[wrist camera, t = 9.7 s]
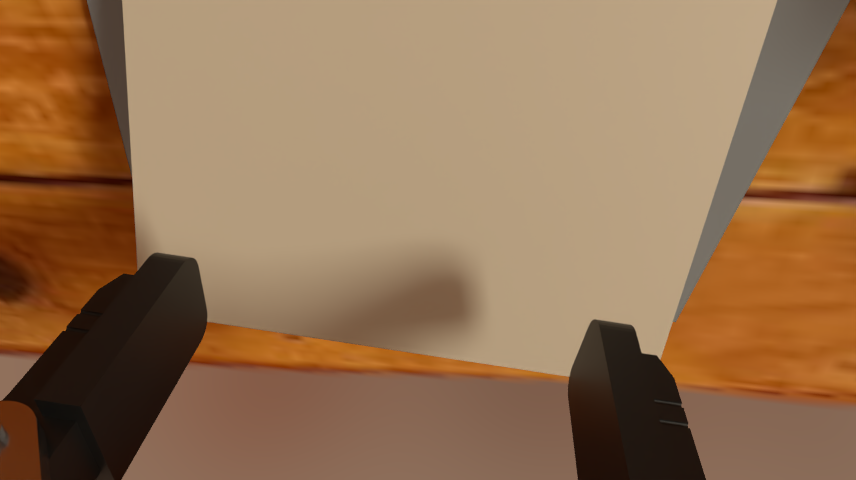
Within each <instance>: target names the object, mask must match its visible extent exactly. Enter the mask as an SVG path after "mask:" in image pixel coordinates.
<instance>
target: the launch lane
mask: <svg viewBox="0 0 856 480" xmlns="http://www.w3.org/2000/svg"><path fill="white" fill-rule="evenodd" d="M849 1H850V0H87V3H88V7H89V11H90V15H91V19H92V23H93V27H94V31H95V34H96V38H97V42H98V46H99V50H100V54H101V58H102V62H103V66H104V70H105V73H106V77H107V81H108V85H109V89H110V93H111V97H112V101H113V105H114V109H115V112H116V116H117V120H118V124H119V128H120V132H121V136H122V140H123V144H124V148H125V151H126V155H127V159H128V163H129V167H130V171H131V175H132V180H133V198H134V215H135V233H136V250H137V268H138V270H139V268H140V267H141V266H142V265H143V263H144V262H145V261H146V260H147V259H148V257H149V256H150V255H152V254H153V253H157V252H158V253H165V254H171V255H178V256H185V257H191V258H194V259H196V261H197V263H198V266H199V271H200V276H201V281H202V286H203V291H204V297H205V302H206V307H207V322H213V323H220V324H226V325H233V326H239V327H246V328H252V329H259V330H266V331H272V332H279V333H285V334H292V335H299V336H305V337H312V338H318V339H325V340H332V341H338V342H345V343H351V344H358V345H364V346H371V347H378V348H384V349H391V350H397V351H404V352H411V353H417V354H424V355H430V356H437V357H443V358H450V359H457V360H463V361H470V362H476V363H483V364H490V365H496V366H503V367H509V368H516V369H522V370H529V371H536V372H542V373H549V374H555V375H562V376H569V377H570V372H571V368H572V366H573V363H574V361H575V358H576V356H577V353H578V351H579V349H580V346H581V344H582V341H583V339H584V336H585V334H586V331H587V329H588V326H589V324H590V323H591V321H592V320H594V319H596V320H603V321H610V322H616V323H623V324H630V325H632V326H633V327H634V328H635V331H636V334H637V338H638V341H639V345H640V349H641V352H642V353H644V354H651V355H657V356H658V358H659V359H661V356H662V353H663V350H664V347H665V344H666V341H667V338H668V334H669V331H670V328H671V325H672V322H676V320H677V319H678V317H679V315H680V313H681V311H682V309H683V308H684V306H685V304H686V302H687V300H688V298H689V296H690V295H691V293H692V291H693V289H694V287H695V285H696V284H697V282H698V280H699V278H700V276H701V274H702V272H703V271H704V269H705V267H706V265H707V263H708V261H709V260H710V258H711V256H712V254H713V252H714V250H715V249H716V247H717V245H718V243H719V241H720V239H721V237H722V236H723V234H724V232H725V230H726V228H727V226H728V225H729V223H730V221H731V219H732V217H733V215H734V213H735V212H736V210H737V208H738V206H739V204H740V202H741V201H742V199H743V197H744V195H745V193H746V191H747V189H748V188H749V186H750V184H751V182H752V180H753V178H754V177H755V175H756V173H757V171H758V169H759V167H760V166H761V164H762V162H763V160H764V158H765V156H766V154H767V153H768V151H769V149H770V147H771V145H772V143H773V142H774V140H775V138H776V136H777V134H778V132H779V130H780V129H781V127H782V125H783V123H784V121H785V119H786V118H787V116H788V114H789V112H790V110H791V108H792V107H793V105H794V103H795V101H796V99H797V97H798V95H799V94H800V92H801V90H802V88H803V86H804V84H805V83H806V81H807V79H808V77H809V75H810V73H811V71H812V70H813V68H814V66H815V64H816V62H817V60H818V59H819V57H820V55H821V53H822V51H823V49H824V47H825V46H826V44H827V42H828V40H829V38H830V36H831V35H832V33H833V31H834V29H835V27H836V25H837V24H838V22H839V20H840V18H841V16H842V14H843V12H844V11H845V9H846V7H847V5H848V3H849Z"/></svg>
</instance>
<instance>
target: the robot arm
mask: <svg viewBox="0 0 856 480" xmlns="http://www.w3.org/2000/svg"><path fill="white" fill-rule="evenodd" d="M206 325H207V307H206V302H205V297H204V291H203V286H202V281H201V276H200V271H199V266H198V263H197V261H196V259H194V258H191V257H185V256H178V255H171V254H165V253H158V252H157V253H153V254H152V255H150V256H149V257H148V259H147V260H146V261H145V262H144V263H143V265H142V266H141V267H140V268H139V270H138V271H137V272H136V273H135V275H129V274H122V275H121V276H119V277H118V278H116V279H114V280H113V281H111V282H110V283H108V284H107V285H105V286H103V287H102V288H100V289H99V290H98V291H97V292H96V293H95V294H94V295H93V296H92V298H91V299H90V300H89V301H88V302H87V303H86V305H85V306H84V307H83V308H82V309H81V313H80V314H77V315H76V316H75V317H74V319H73V320H72V321H71V322H70V323H69V324H68V326H67V329H66V331H62V333H61V334H60V335H59V336H58V337H57V338H56V339H55V341H54V342H53V343H52V344H51V345H50V346H49V348H48V349H47V350H46V351H45V352H44V353H43V355H42V356H41V357H40V358H39V359H38V360H37V362H36V363H35V364H34V365H33V366H32V367H31V369H30V370H29V371H28V372H27V373H26V374H25V376H24V377H23V378H22V379H21V380H20V381H19V383H18V384H17V385H16V386H15V387H14V388H13V390H12V391H11V392H10V393H9V394H8V395H7V396H6V397H5V398H4V399H3V400H2V401H0V480H121V479H122V477H123V475H124V474H125V472H126V470H127V469H128V467H129V465H130V464H131V462H132V460H133V458H134V456H135V455H136V453H137V451H138V450H139V448H140V446H141V444H142V443H143V441H144V439H145V438H146V436H147V434H148V432H149V431H150V429H151V427H152V425H153V423H154V422H155V420H156V418H157V417H158V415H159V413H160V411H161V410H162V408H163V406H164V405H165V403H166V401H167V399H168V397H169V396H170V394H171V392H172V391H173V389H174V387H175V385H176V384H177V382H178V380H179V379H180V377H181V375H182V373H183V371H184V370H185V368H186V366H187V365H188V363H189V361H190V360H191V358H192V356H193V354H194V353H195V351H196V349H197V347H198V346H199V344H200V342H201V340H202V338H203V336H204V333H205V329H206ZM568 400H569V408H570V416H571V425H572V433H573V442H574V449H575V458H576V467H577V475H578V480H706V478H705V475H704V472H703V469H702V466H701V463H700V459H699V456H698V453H697V450H696V446H695V444H694V440H693V437H692V434H691V430H690V429H689V428H688V421H687V418H686V415H685V412H684V408H682V407H681V404H682V402H681V399H680V396H679V392H678V389H677V386H676V383H675V380H674V378H673V376H672V375H671V374H670V372H669V371H668V370H667V368H666V367H665V366H664V364H663V363H662V362H661V360H660V359H659V358H658V356H657V355H651V354H644V353H642V352H641V349H640V345H639V341H638V338H637V334H636V331H635V328H634V327H633V326H632V325H630V324H623V323H616V322H610V321H603V320H596V319H594V320H592V321H591V323H590V324H589V326H588V329H587V331H586V334H585V336H584V339H583V341H582V344H581V346H580V349H579V351H578V353H577V356H576V358H575V361H574V363H573V366H572V368H571V372H570V377H569V384H568Z"/></svg>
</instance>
